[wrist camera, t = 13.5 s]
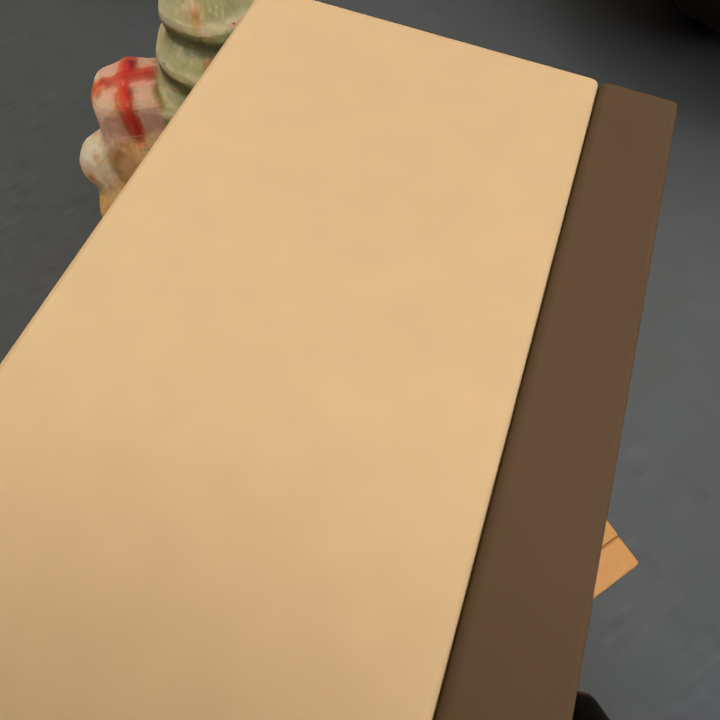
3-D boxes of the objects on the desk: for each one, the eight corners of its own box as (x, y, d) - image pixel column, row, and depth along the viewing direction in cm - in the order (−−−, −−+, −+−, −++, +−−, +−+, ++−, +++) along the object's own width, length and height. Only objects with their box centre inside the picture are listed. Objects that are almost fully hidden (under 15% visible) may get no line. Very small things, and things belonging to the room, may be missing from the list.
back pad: (444, 446, 17) (683, 99, 5) (369, 690, 15) (521, 1054, 3) (310, 398, 18) (262, -18, 6) (213, 626, 15) (-241, 695, 3)
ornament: (134, 302, 20) (-39, 36, 11) (112, 171, 22) (-45, -139, 13) (350, 252, 21) (362, -25, 12) (308, 134, 23) (290, -174, 14)
